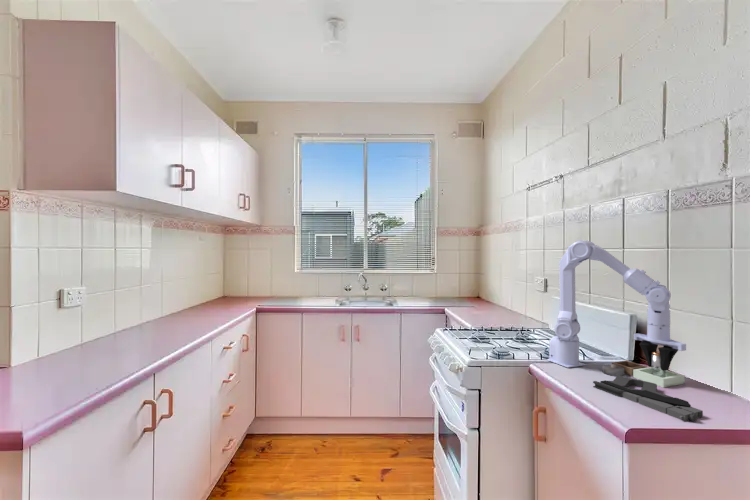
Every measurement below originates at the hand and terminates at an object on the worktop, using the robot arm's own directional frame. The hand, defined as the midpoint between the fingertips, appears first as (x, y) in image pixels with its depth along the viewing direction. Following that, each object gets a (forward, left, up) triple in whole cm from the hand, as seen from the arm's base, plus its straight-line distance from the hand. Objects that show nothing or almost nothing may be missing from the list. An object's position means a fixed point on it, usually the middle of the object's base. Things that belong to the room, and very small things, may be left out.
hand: (658, 368), depth 118 cm
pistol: (+9, -16, -5) cm, 19 cm away
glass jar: (0, 0, -3) cm, 3 cm away
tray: (0, 0, -4) cm, 4 cm away
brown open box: (-9, -3, -4) cm, 11 cm away
